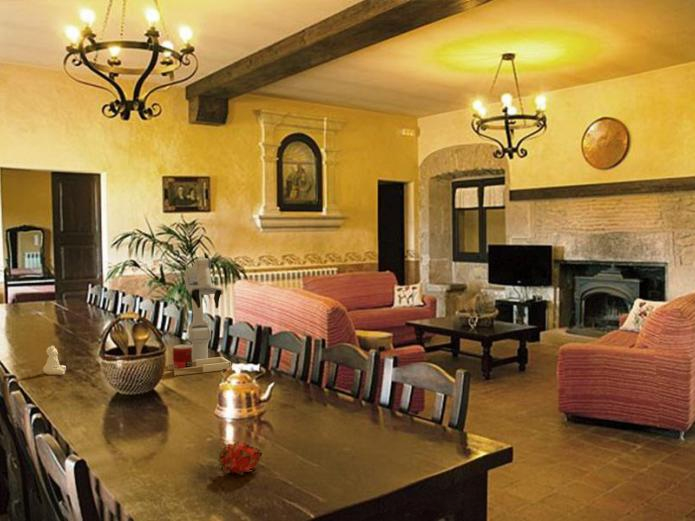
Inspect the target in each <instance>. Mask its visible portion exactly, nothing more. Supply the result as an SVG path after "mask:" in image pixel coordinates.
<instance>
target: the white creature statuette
mask: <svg viewBox="0 0 695 521" xmlns="http://www.w3.org/2000/svg"><path fill="white" fill-rule="evenodd" d="M45 352H46V354H47V355H48V357H47V359H46V360H47V361H46V363H45V365H44V366H43V369H42V370H43V372H44V373H45V374H46V375H54V376H55V375H56V376H57V375H58V376H61V375H65V374H66V370H67V367H66V365H63V364H62V365H61V364H60V361H59V358H58V355H59V353H58V349H57V348H56V347H55V345H50V346H48V347H47V348H46V350H45Z"/></svg>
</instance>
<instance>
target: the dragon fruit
mask: <svg viewBox="0 0 695 521" xmlns="http://www.w3.org/2000/svg"><path fill="white" fill-rule="evenodd" d="M262 455H263V452H261V450H260V448H259V447H256V446H253V445H251V446H250V444H249V442H248V441H244V442H243V443H240V441H237V442H235V443H233V444H231V443H227V444H226V446H224V447H223V448H222V451H220V453H219V459H218V463H219V465H220V466H221V469H220V470H221V471H222V472H229V474H230V473H232V474H231V475H234V474H237V475H240V476H243V475H244V473H247V472H248V473H251V472H250V470H252V472H254V471H253V470H254V469H255V470H256V466H257V465H258V463H259V462H260V459H262V457H263V456H262ZM233 473H234V474H233Z"/></svg>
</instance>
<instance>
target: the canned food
mask: <svg viewBox="0 0 695 521" xmlns="http://www.w3.org/2000/svg"><path fill="white" fill-rule="evenodd" d="M172 360H173V361H172V363H173V369H180V368H188V367H192V346H191V344H176V345H173V346H172Z"/></svg>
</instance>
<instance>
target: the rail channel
mask: <svg viewBox="0 0 695 521" xmlns="http://www.w3.org/2000/svg"><path fill="white" fill-rule="evenodd" d="M167 370H168V371H173V376H175V377H177V376H182V375H183V376H184V375H192V374H200V373H201V374H202V373H204V372H203V366H197V367H196V361H192V367H188V368H180V369H173V362H171V363H167ZM176 375H177V376H176Z"/></svg>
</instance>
